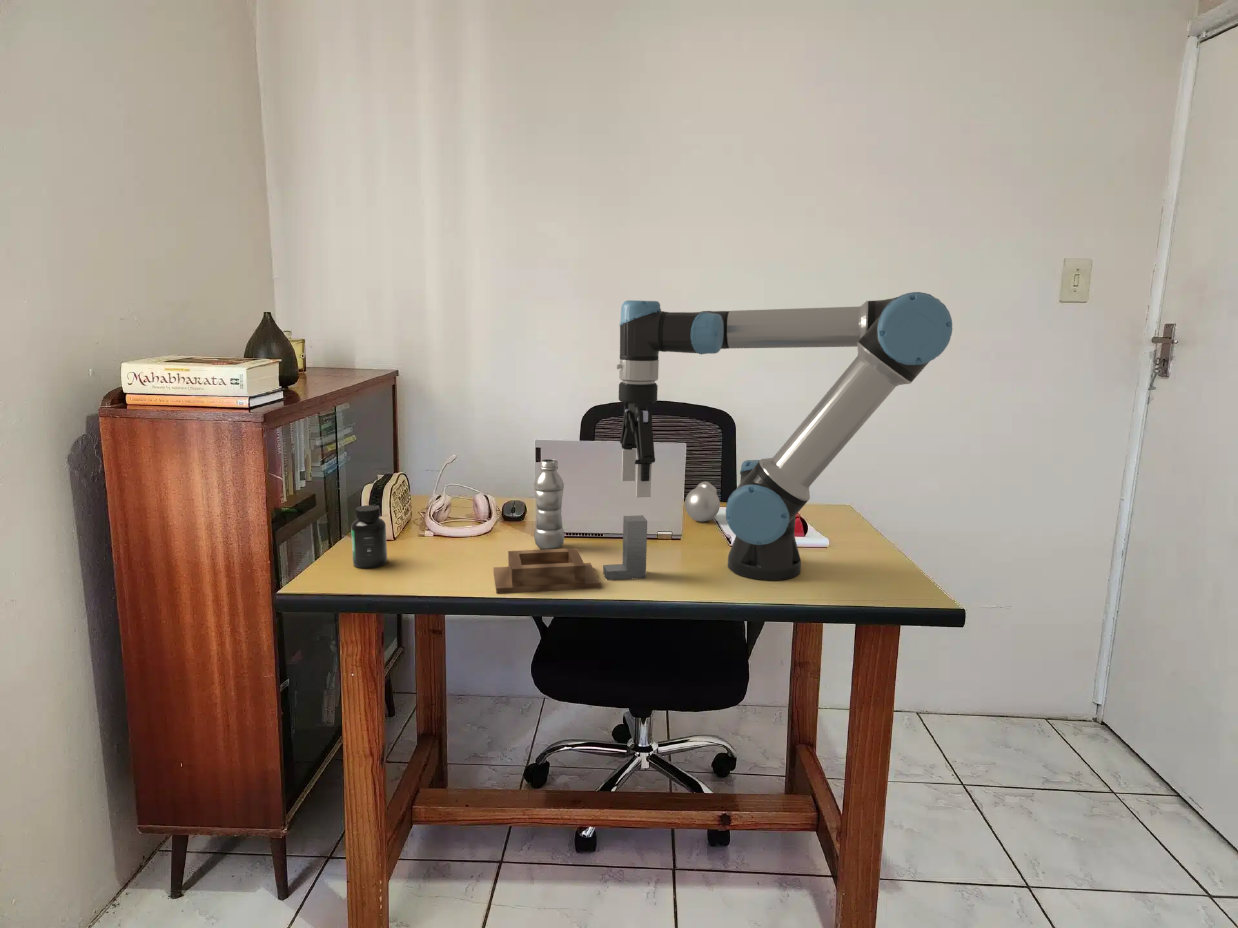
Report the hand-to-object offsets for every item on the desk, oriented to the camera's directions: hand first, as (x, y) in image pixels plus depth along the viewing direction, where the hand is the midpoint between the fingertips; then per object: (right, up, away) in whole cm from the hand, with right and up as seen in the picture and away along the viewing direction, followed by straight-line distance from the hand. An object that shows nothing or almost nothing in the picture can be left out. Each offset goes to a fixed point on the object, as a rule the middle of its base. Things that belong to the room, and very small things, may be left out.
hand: (635, 488), depth 159 cm
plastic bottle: (-19, -14, +20) cm, 31 cm away
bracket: (-2, -18, +3) cm, 18 cm away
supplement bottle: (-55, -16, +8) cm, 58 cm away
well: (-18, -18, 0) cm, 25 cm away
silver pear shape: (+18, -10, +44) cm, 49 cm away
